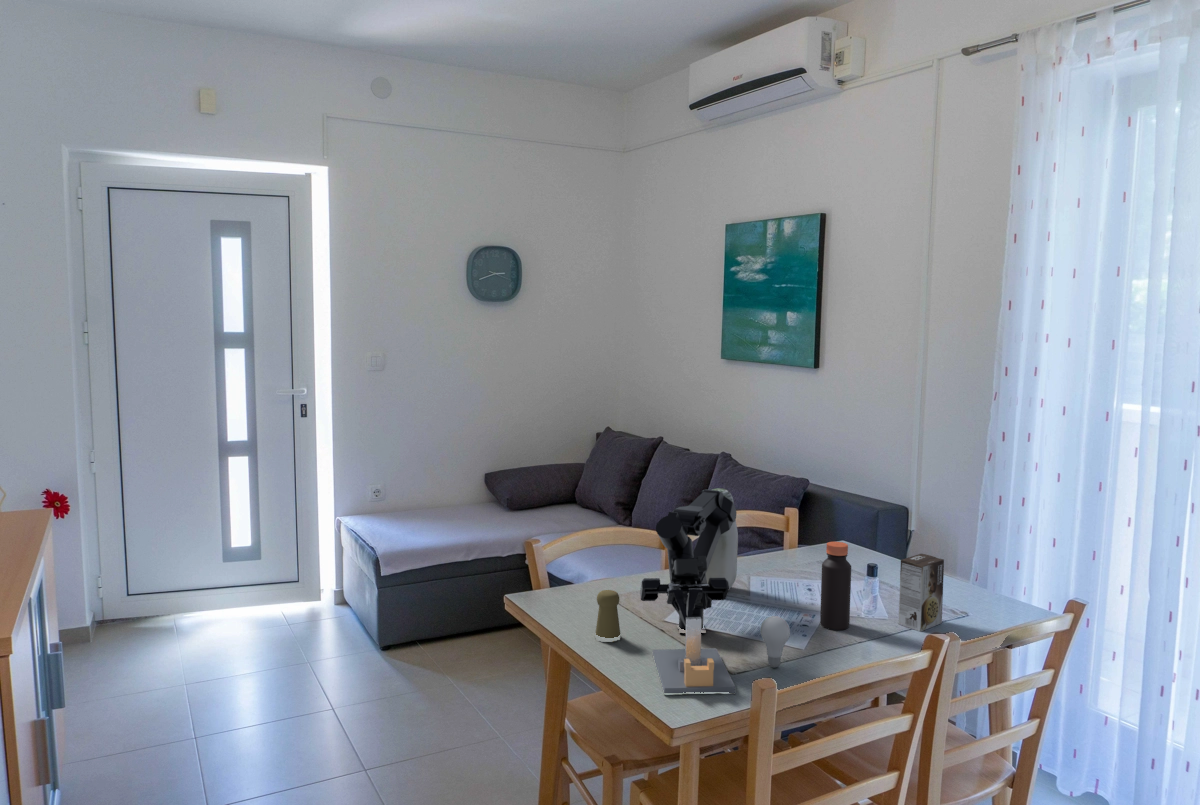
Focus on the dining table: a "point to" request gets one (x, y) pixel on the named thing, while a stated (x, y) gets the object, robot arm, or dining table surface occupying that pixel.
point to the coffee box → (921, 592)
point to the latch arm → (693, 640)
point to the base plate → (678, 677)
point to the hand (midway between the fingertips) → (687, 626)
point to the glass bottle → (725, 552)
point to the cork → (608, 614)
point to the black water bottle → (835, 587)
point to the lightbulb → (774, 638)
